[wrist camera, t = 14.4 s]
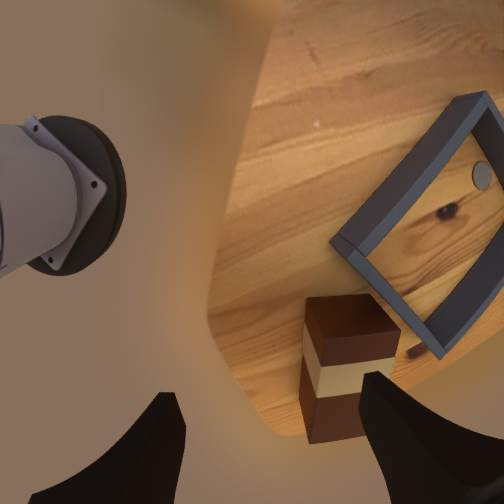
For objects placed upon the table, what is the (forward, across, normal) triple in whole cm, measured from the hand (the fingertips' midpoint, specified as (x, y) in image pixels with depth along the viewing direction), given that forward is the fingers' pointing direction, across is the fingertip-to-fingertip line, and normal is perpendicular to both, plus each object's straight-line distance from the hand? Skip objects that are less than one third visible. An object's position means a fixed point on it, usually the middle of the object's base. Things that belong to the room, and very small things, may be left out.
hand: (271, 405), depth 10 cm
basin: (+10, -14, -4) cm, 17 cm away
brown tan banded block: (+9, -5, +5) cm, 12 cm away
